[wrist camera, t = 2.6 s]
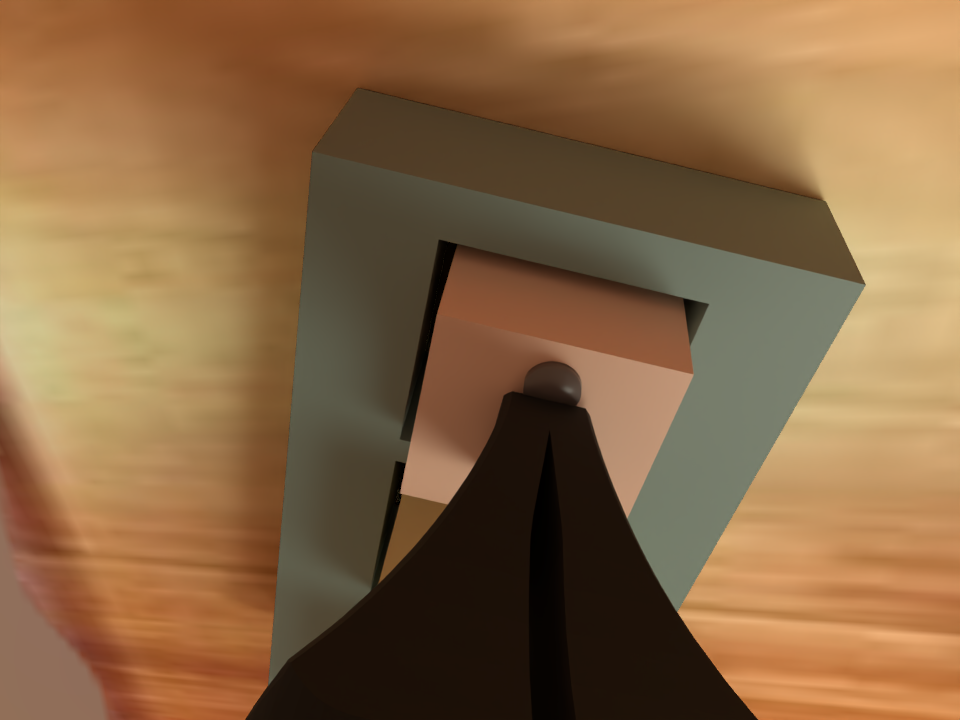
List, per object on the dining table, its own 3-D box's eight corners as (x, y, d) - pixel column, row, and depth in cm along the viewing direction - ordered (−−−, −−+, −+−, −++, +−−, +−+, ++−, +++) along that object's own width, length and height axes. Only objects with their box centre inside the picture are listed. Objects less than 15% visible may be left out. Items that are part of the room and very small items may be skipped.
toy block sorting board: (580, 687, 26) (578, 783, 24) (297, 623, 26) (265, 713, 23) (826, 201, 16) (865, 285, 13) (357, 88, 15) (312, 152, 13)
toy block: (613, 389, 19) (615, 551, 15) (439, 347, 19) (397, 501, 15) (674, 234, 16) (695, 382, 13) (474, 186, 16) (434, 321, 12)
